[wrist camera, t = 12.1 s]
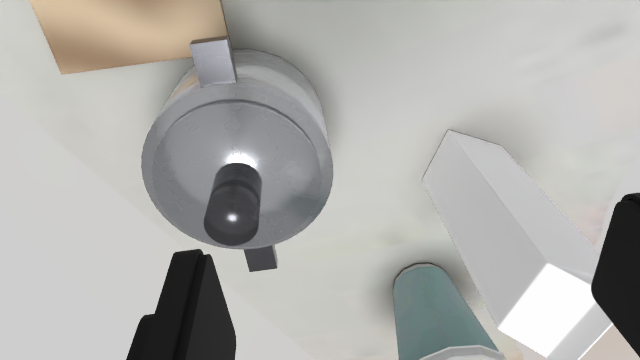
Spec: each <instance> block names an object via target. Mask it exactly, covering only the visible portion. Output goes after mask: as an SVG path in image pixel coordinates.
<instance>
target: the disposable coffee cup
mask: <svg viewBox="0 0 640 360" xmlns="http://www.w3.org/2000/svg"><path fill="white" fill-rule="evenodd" d="M393 301H394V312H395V323H396V333H397V344H398V354H399V360H506V358H505V356H504V354H503V353H501V352H499V350H498V349H497V347H496V346H495V344H494V343H493V342H492V340H491V339H490V337H489V336H488V334H487V333H486V331H485V330H484V328H483V327H482V325H481V324H480V322H479V321H478V319H477V318H476V316H475V315H474V313H473V312H472V310H471V309H470V307H469V306H468V304H467V303H466V302H465V300H464V299H463V297H462V296H461V294H460V293H459V291H458V290H457V288H456V287H455V285H454V284H453V282H452V281H451V279H450V278H449V276H448V275H447V273H446V272H445V271H443V270H442V269H441V268H439V267H437V266H435V265H432V264H416V265H413V266H411V267H409V268H407V269H405V270H403V271H402V272H401V273H400V274H399V276H398V277H397V278H396V279H395V283H394V290H393Z"/></svg>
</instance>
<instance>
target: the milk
mask: <svg viewBox="0 0 640 360" xmlns="http://www.w3.org/2000/svg"><path fill="white" fill-rule="evenodd" d="M422 182H423V184H424V186H425V188H426V190H427V192H428V194H429V196H430V198H431V200H432V202H433V204H434V206H435V208H436V210H437V212H438V214H439V215H440V217H441V219H442V221H443V223H444V225H445V227H446V229H447V231H448V233H449V235H450V237H451V239H452V241H453V243H454V245H455V247H456V249H457V251H458V253H459V255H460V257H461V259H462V261H463V262H464V264H465V266H466V268H467V270H468V272H469V274H470V276H471V278H472V280H473V282H474V284H475V286H476V288H477V290H478V292H479V294H480V296H481V298H482V300H483V302H484V304H485V306H486V307H487V309H488V311H489V313H490V315H491V317H492V319H493V321H494V323H495V325H496V327H497V329H498V330H500V331H502V332H503V333H505V334H507V335H508V336H510V337H512V338H514V339H515V340H517V341H519V342H520V343H522V344H524V345H526V346H527V347H529V348H531V349H532V350H534V351H536V352H538V353H539V354H541V355H543V356H544V357H546V358H547V359H548V360H579V359H580V358H581V357H582V356H583V355H584V354H585V353H586V352H587V351H588V350H589V349H590V348H591V347H592V346H593V345H594V343H595V342H596V341H597V340H598V339H599V338H600V337H601V336H602V335H603V334H604V333H605V332H606V331H607V330H608V329H609V328H610V327H611V326H612V325H613V323H612V322H611V320H610V319H609V318H608V316H607V315H606V314H605V313H604V311H603V310H602V309H601V308H600V306H599V305H598V304H597V303H596V301H595V300H594V298H593V296H592V292H591V284H592V280H593V277H594V274H595V270H596V267H597V264H598V261H599V257H600V253H599V252H598V251H597V249H596V248H595V247H594V246H593V245H592V244H591V243H590V242H589V241H588V240H587V239H586V237H585V236H584V235H583V234H582V233H581V232H580V231H579V230H578V229H577V228H576V227H575V226H574V224H573V223H572V222H571V221H570V220H569V219H568V218H567V217H566V216H565V215H564V214H563V213H562V211H561V210H560V209H559V208H558V207H557V206H556V205H555V204H554V203H553V202H552V201H551V200H550V198H549V197H548V196H547V195H546V194H545V193H544V192H543V191H542V190H541V189H540V188H539V187H538V185H537V184H536V183H535V182H534V181H533V180H532V179H531V178H530V177H529V176H528V175H527V173H526V172H525V171H524V170H523V169H522V168H521V167H520V166H519V165H518V164H517V163H516V162H515V160H514V159H513V158H512V157H511V156H510V155H509V154H508V153H507V152H506V151H505V150H504V149H503V147H502V146H500V145H497V144H494V143H491V142H487V141H484V140H481V139H477V138H474V137H471V136H467V135H464V134H461V133H458V132H454V131H451V130H448V131H447V133H446V135H445V137H444V138H443V140H442V142H441V144H440V146H439V148H438V150H437V152H436V154H435V156H434V158H433V160H432V161H431V163H430V165H429V167H428V169H427V171H426V173H425V175H424V177H423V179H422Z"/></svg>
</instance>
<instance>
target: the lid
mask: <svg viewBox="0 0 640 360" xmlns="http://www.w3.org/2000/svg"><path fill="white" fill-rule="evenodd" d="M152 179H153V186H154V189H155V193H156V195H157V198H158V200H159V202H160V204H161V205H162V207H163V209H164V210H165V212H166V213H167V214H168V215H169V216H170V218H171V219H172V220H173V221H174V222H175V223H176V224H177V225H179V226H180V227H181V228H183V229H184V230H185V231H187V232H188V233H190V234H192V235H193V236H195V237H197V238H199V239H202V240H204V241H206V242H209V243H213V244H216V245H221V246H226V247H234V248H247V247H256V246H261V245H266V244H269V243H272V242H275V241H277V240H280V239H282V238H284V237H286V236H287V235H289V234H291V233H292V232H293V231H295V230H296V229H298V228H299V227H300V226H301V225H302V224H303V223H304V222H305V221H306V219H307V218H308V217H309V216H310V214H311V213H312V211H313V209H314V208H315V205H316V203H317V201H318V198H319V194H320V189H321V170H320V164H319V159H318V155H317V152H316V150H315V147H314V145H313V143H312V141H311V140H310V138H309V136H308V135H307V134H306V132H305V131H304V130H303V129H302V128H301V127H300V126H299V125H298V124H297V123H296V122H295V121H294V120H293V119H291V118H290V117H289V116H287V115H286V114H284V113H283V112H281V111H279V110H277V109H275V108H273V107H271V106H268V105H266V104H262V103H259V102H256V101H250V100H244V99H225V100H217V101H212V102H208V103H205V104H202V105H199V106H197V107H195V108H193V109H191V110H189V111H187V112H186V113H185V114H183V115H182V116H180V117H179V118H178V119H177V120H176V121H175V122H174V123H173V124H172V125H171V126H170V127H169V129H168V130H167V131H166V132H165V134H164V136H163V138H162V140H161V142H160V143H159V145H158V147H157V150H156V153H155V155H154V159H153V165H152Z"/></svg>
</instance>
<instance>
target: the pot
mask: <svg viewBox="0 0 640 360" xmlns="http://www.w3.org/2000/svg"><path fill="white" fill-rule="evenodd" d="M189 46H190V50H191V53H192V57H193V61H194V66H192V67H191V68H190V69H189V70H188V71H187V72H186V73H185V74H184V76H183V77H182V78H181V80H180V81H179V82H178V84H177V86H176V87H175V89H174V91H173V92H172V94H171V96H170V97H169V99H168V101H167V102H166V104H165V105H164V107H163V109H162V110H161V112H160V114H159V115H158V117H157V119H156V120H155V122H154V124H153V125H152V127H151V129H150V131H149V133H148V134H147V137H146V140H145V143H144V146H143V151H142V164H141V168H142V175H143V180H144V183H145V187H146V190H147V192H148V194H149V196H150V198H151V200H152V202H153V203H154V205H155V206H156V208H157V209H158V210H159V212H160V213H161V214H162V215H163V216H164V217H165V218H166V219H167V220H168V221H169V222H170V223H171V224H172V225H173V226H175V227H176V228H177V229H179V230H180V231H182V232H183V233H185V234H187V235H188V236H190V237H192V238H194V239H197V240H199V241H201V242H204V243H207V244H210V245H213V246H218V247H222V248H230V249H244V252H245V256H246V260H247V264H248V267H249V271H250V272H253V271H261V270H268V269H276V268H277V255H276V250H275V246H274V244H278V243H280V242H283V241H285V240H287V239H289V238H291V237H293V236H295V235H296V234H298V233H299V232H301V231H302V230H304V229H305V228H306V227H307V226H308V225H309V224H310V223H312V222H313V221H314V219H315V218H316V217H317V216H318V215H319V213H320V212H321V210H322V209H323V207H324V205H325V204H326V201H327V199H328V197H329V194H330V191H331V187H332V181H333V162H332V157H331V152H330V147H329V141H328V136H327V131H326V126H325V121H324V116H323V110H322V106H321V103H320V100H319V97H318V95H317V93H316V91H315V89H314V88H313V86H312V85H311V83H310V82H309V81H308V79H307V78H306V77H305V76H304V75H303V74H302V73H301V72H300V71H299V70H298V69H296V68H295V67H294V66H293V65H291V64H290V63H288V62H287V61H285V60H283V59H281V58H279V57H277V56H275V55H272V54H269V53H266V52H262V51H257V50H248V49H237V50H232V49H231V44H230V39H229V35H226V36H219V37H211V38H204V39H196V40H192V41H191V43H190V44H189ZM225 99H244V100H250V101H256V102H259V103H262V104H266V105H268V106H271V107H273V108H275V109H277V110H279V111H281V112H283V113H284V114H286V115H287V116H289V117H290V118H291V119H293V120H294V121H295V122H296V123H297V124H298V125H299V126H300V127H301V128H302V129H303V130H304V131H305V132H306V134H307V135H308V136H309V138H310V140H311V141H312V143H313V145H314V147H315V150H316V152H317V155H318V159H319V164H320V170H321V189H320V194H319V198H318V201H317V203H316V205H315V208H314V209H313V211H312V213H311V214H310V216H309V217H308V218H307V219H306V221H305V222H304V223H303V224H302V225H301V226H300V227H299V228H298V229H296V230H295V231H293V232H292V233H291V234H289V235H287V236H286V237H284V238H282V239H280V240H277V241H275V242H272V243H269V244H266V245H261V246H256V247H247V248H234V247H226V246H221V245H216V244H213V243H209V242H206V241H204V240H202V239H199V238H197V237H195V236H193V235H192V234H190V233H188V232H187V231H185V230H184V229H183V228H181V227H180V226H179V225H177V224H176V223H175V222H174V221H173V220H172V219H171V218H170V216H169V215H168V214H167V213H166V212H165V210H164V209H163V207H162V205H161V204H160V202H159V200H158V198H157V195H156V193H155V189H154V186H153V179H152V165H153V159H154V155H155V153H156V150H157V147H158V145H159V143H160V142H161V140H162V138H163V136H164V134H165V132H166V131H167V130H168V129H169V127H170V126H171V125H172V124H173V123H174V122H175V121H176V120H177V119H178V118H179V117H180V116H182V115H183V114H185V113H186V112H187V111H189V110H191V109H193V108H195V107H197V106H199V105H202V104H205V103H208V102H212V101H217V100H225Z"/></svg>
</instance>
